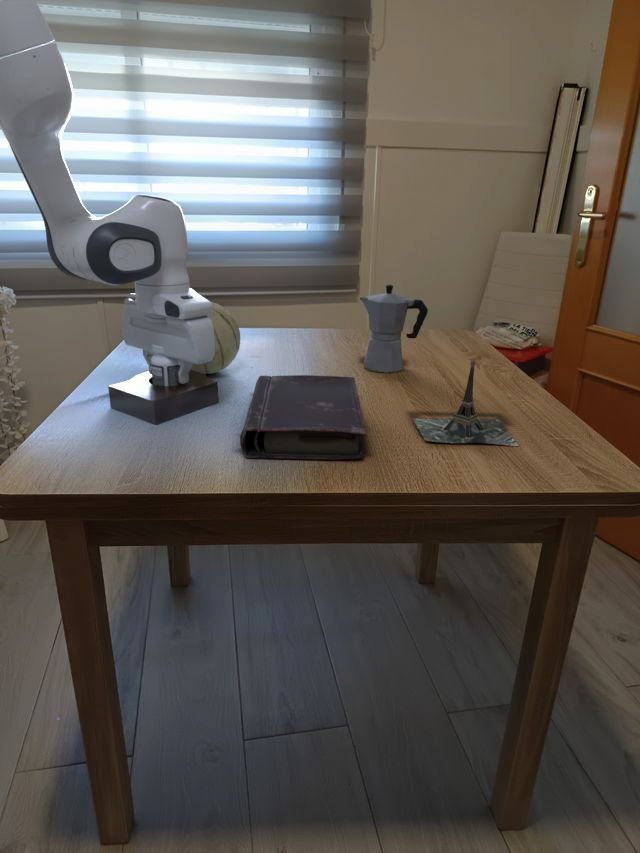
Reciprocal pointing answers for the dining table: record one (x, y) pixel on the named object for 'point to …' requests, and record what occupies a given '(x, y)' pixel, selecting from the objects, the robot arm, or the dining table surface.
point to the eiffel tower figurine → (465, 424)
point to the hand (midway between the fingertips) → (168, 378)
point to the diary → (304, 418)
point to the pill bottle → (163, 368)
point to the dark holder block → (162, 397)
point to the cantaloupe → (221, 341)
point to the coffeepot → (389, 329)
